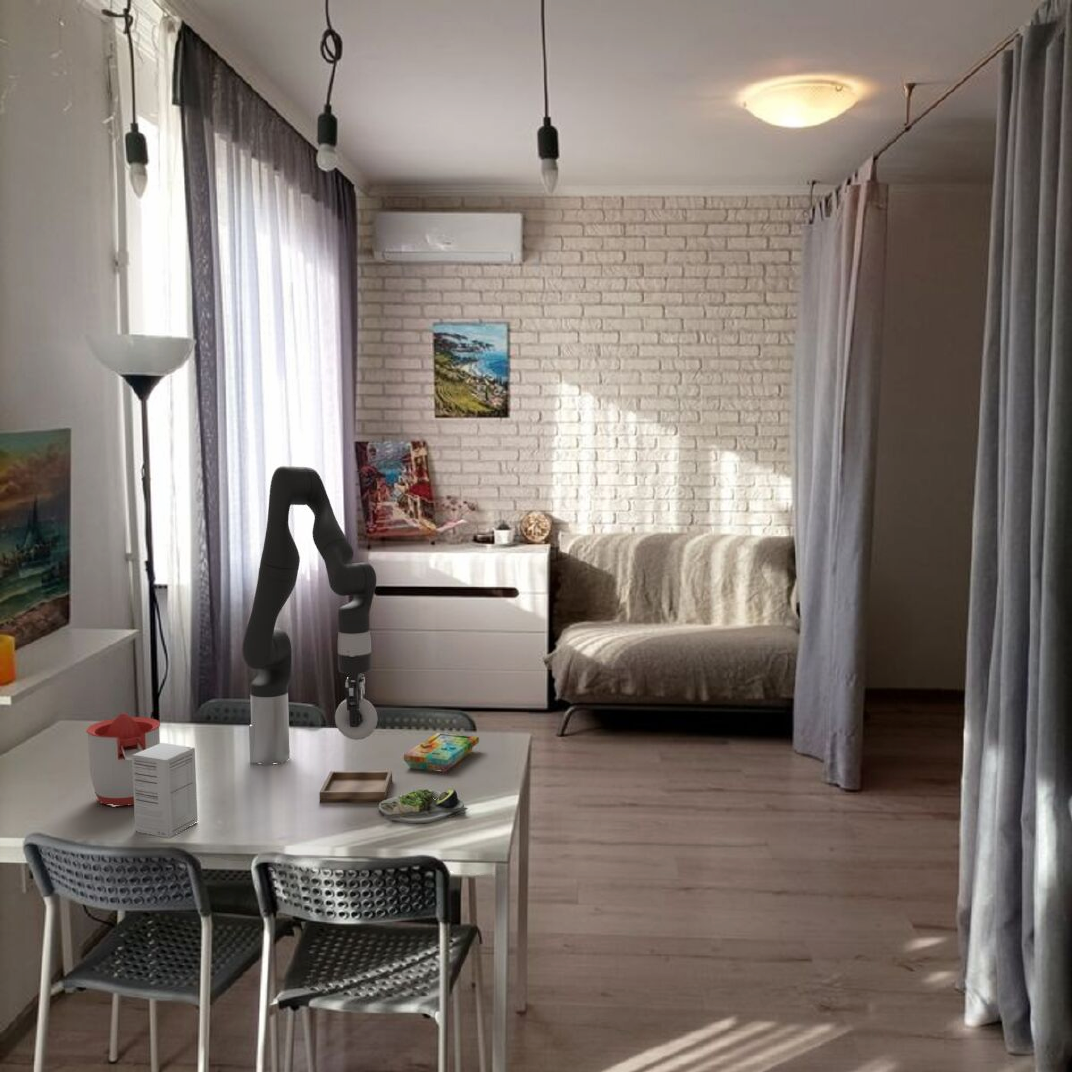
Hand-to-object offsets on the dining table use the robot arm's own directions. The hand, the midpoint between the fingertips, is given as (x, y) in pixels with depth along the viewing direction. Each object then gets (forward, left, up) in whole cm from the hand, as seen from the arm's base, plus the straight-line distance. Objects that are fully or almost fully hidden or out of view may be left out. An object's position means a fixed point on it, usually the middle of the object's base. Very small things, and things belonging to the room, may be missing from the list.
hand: (356, 723), depth 262 cm
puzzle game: (+18, +24, -17) cm, 34 cm away
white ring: (0, 0, -4) cm, 4 cm away
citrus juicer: (-51, -5, -16) cm, 54 cm away
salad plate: (+16, -12, -17) cm, 26 cm away
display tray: (0, 0, -16) cm, 16 cm away
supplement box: (-37, -22, -16) cm, 46 cm away
